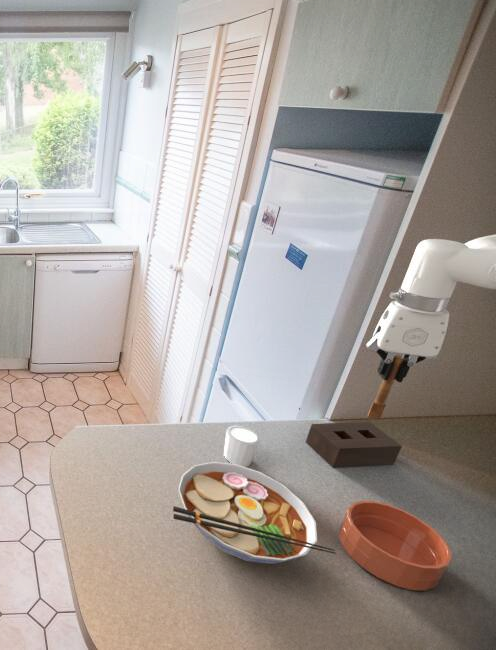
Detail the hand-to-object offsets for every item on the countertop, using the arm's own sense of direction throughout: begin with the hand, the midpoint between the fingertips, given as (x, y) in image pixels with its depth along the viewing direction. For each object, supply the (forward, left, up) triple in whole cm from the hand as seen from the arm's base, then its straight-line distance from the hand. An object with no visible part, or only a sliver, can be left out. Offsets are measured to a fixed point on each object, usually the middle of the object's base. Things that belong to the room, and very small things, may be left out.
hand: (389, 377), depth 99 cm
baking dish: (+6, +31, -21) cm, 38 cm away
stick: (0, 0, -11) cm, 11 cm away
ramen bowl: (+31, +35, -21) cm, 51 cm away
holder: (+3, +1, -21) cm, 21 cm away
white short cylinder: (+28, +12, -21) cm, 37 cm away
